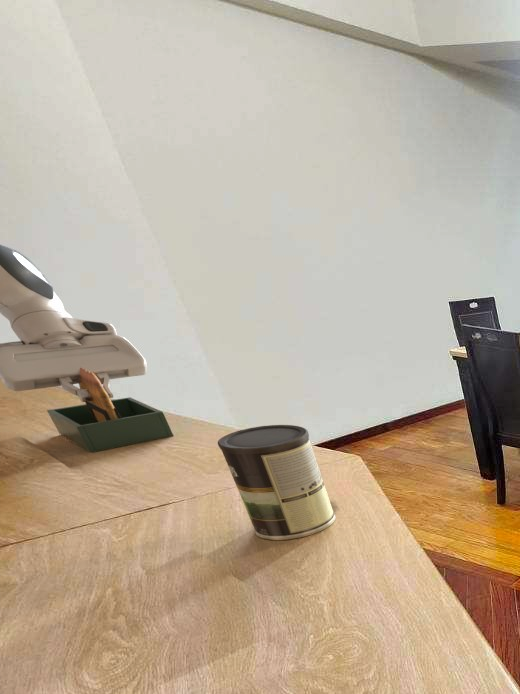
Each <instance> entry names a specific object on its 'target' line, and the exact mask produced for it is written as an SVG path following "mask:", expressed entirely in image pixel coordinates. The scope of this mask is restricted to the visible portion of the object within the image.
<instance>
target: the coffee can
mask: <svg viewBox="0 0 520 694" xmlns="http://www.w3.org/2000/svg"><path fill="white" fill-rule="evenodd" d="M217 445H218V448H219V449H220V450H221V452H222V455H223V457H224V460H225V462H226V464H227V466H228V469H229V471H230V474H231V476H232V479H233V481H234V483H235V486H236V488H237V491H238V493H239V495H240V498H241V500H242V502H243V504H244V505H243V506H244V508H245V510H246V512H247V514H248V517H249V519H250V522H251V524H252V527H253V529H254V533H255V535H256V536H257V537H258V538H260V539H263V540H269V541H289V540H294V539H299V538H301V539H302V538H304V537H309V536H312V535H314V534H317V533H320V532H322V531H324V530H326V529H327V528H329V527H330V526H332V525H333V524H334V522H335V521H336V518H337V517H336V514H335V513H334V510H333V506H332V504H331V501H330V497H329V494H328V492H327V489H326V486H325V483H324V480H323V477H322V473H321V471H320V467H319V464H318V463H317V462H318V461H317V459H316V456H315V455H316V454H315V452H314V449H313V447H312V443H311V441H310V433H309V430H308V429H306V428H305V427H304V426H303V427H302V426H299V425H293V424H271V425H270V424H269V425H261V426H254V427H249V428H244V429H240V430H237V431H236V430H235V431H233V432H231V433H228V434H225V435H224V436H222V437H220V438H219V439H218V440H217Z"/></svg>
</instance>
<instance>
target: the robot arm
mask: <svg viewBox="0 0 520 694" xmlns="http://www.w3.org/2000/svg"><path fill="white" fill-rule="evenodd" d="M64 306H65V305H64V304H63V301H62V300H61V298H59V296H58V295H57V294H56V292H55V291H54V287H53V285H52V284H51V282H50V281H49V280H48V278H47V277H46V276H45V274H44V273H43V272H42V271H41V270H40V268H39V267H38V266H37V265H36V264H35V263H34V262H33V261H32V260H31V259H30V258H28V257H27V256H26V255H24V254H23V253H21V252H20V251H18V250H16V249H13V248H12V247H8V246H6V245H2V244H0V315H2V317H4V318H5V319H7V320H8V322H9V324H10V327H11V329H12V332H13V333H14V334H15V335H16V336H17V338H18V339H19V341H8V342H3V343H0V380H1V382H2V384H3V385H4V387H5V388H6V389H8V390H11V391H14V392H24V391H25V392H26V391H31V390H40V389H46V388H55V387H62V389H63V390H64V391H66V392H68V393H70V394H72V395H74V396H77V398H78V399H79V400H80V401H81V403H85V402H86V401H93V399H92V396H91V394H90V393H89V391H88V390H87V389H80V387H79V386H76V385H77V384H78V385H79V383H81V381H80V379H79V377H78V375H80V368H83V369H85V370H87V371H89V372H92V373H93V374H94V375H95V376H96V377H97V378H98V379H99V381H100V383H101V384H102V386H103V388H104V390H105V391H106V393H107V394H108V396H109V398H110V399H113V398H114V394H113V391H112V390H111V388H110V386H111V380H117V379H124V378H132V377H140V376H145V375H146V373H147V371H148V363H147V360H146V358H145V357H144V356H143V354H142V353H141V352H140V351H139V350H138V349H137V348H136V347H135V346H134V344H132V342H130V341H129V340H128V339H127V338H125V337H124V336H121V335H119V334H118V332H117V330H116V328H115V326H114V325H113V324H111V323H109V322H104V321H95V320H87V319H80V318H75V317H73V316H72V315H71V314H70V313H68V312H67V311H66V309H65V307H64Z"/></svg>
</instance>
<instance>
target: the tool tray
mask: <svg viewBox="0 0 520 694" xmlns="http://www.w3.org/2000/svg"><path fill="white" fill-rule="evenodd" d="M110 400H111V402H112V404H113V406H114V407H115V408H116V409H117V411H118V413H119V415H120V417H121V418H119V419H114V420H108V421H102V422H97V423H95V421H94V419H93V417H92V415H91V413H90V411H89V409H88V407H87V405H86V403H84V404H78V405H71V406H67V407H66V406H65V407H60V408H53V409H47V410H46V412H47V414H48V415H49V417H50V419H51V421H52V422H53V425H54V426H55V428H56V430H57V432H58V433H59V435H60V434H61V435H60V436H62V437H63V436H64V437H63V438H65V437H66V438H65V439H67V440H68V439H69V441H70V440H71V441H70V442H72V443H73V442H74V443H73V444H75V443H76V444H75V445H76V446H78V445H79V446H78V447H80V446H81V447H80V448H82V449H83V448H84V449H83V450H85V451H87V452H88V451H89V452H88V453H90V452H92V453H96V452H95V451H97V452H101V450H102V451H107V450H111V449H115V447H116V448H120V446H121V447H125V446H124V445H126V446H130V445H129V444H131V445H135V444H134V443H136V444H140V443H139V442H141V443H145V442H144V441H146V442H150V440H151V441H154V440H153V439H156V440H160V439H159V438H161V439H165V438H164V437H166V438H169V437H168V436H170V437H174V434H173V431H172V428H171V426H170V425H169V422H168V420H167V418H166V416H165V413H164V411H162V410H160V409H158V408H156V407H154V406H153V407H152V406H151V405H148V404H146V403H144V402H142V401H139V400H138V399H135V398H133V397H130V396H128V397H123V398H117V399H110Z"/></svg>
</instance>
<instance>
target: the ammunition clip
mask: <svg viewBox="0 0 520 694" xmlns="http://www.w3.org/2000/svg"><path fill="white" fill-rule="evenodd" d="M78 377H79V379H80V381H81V383H79V384H78V388H79V389H87V390H88V391H89V393H90V394H91V396H92V399H93V401H86V402H84V404H86V405H87V407H88V409H89V411H90V413H91V415H92V417H93V419H94V421H95V423H97V422H102V421H108V420H114V419H119V418H121V417H120V415H119V413H118V411H117V409H116V408H115V407H114V406H113V404H112V402H111V400H112V399H111V398H109V396H108V394H107V393H106V391H105V390H104V388H103V384H101V383H100V381H99V379H98V378H97V377H96V376H95V375H94V374H93V373H92V372H89V371H87V370H85V369H83V368H80V375H78Z"/></svg>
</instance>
